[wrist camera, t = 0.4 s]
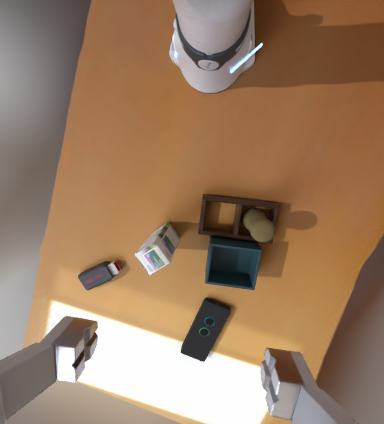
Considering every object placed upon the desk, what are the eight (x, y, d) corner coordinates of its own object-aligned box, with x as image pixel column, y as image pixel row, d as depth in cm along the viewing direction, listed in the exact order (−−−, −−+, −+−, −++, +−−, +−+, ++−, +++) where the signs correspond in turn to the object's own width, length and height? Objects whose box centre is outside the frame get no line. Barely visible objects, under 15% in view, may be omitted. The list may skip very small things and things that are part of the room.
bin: (210, 234, 56) (210, 243, 49) (256, 240, 55) (262, 250, 49) (205, 270, 58) (205, 283, 52) (249, 276, 58) (254, 290, 51)
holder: (203, 194, 53) (202, 196, 51) (276, 202, 52) (280, 205, 50) (198, 230, 56) (198, 233, 53) (268, 239, 55) (272, 243, 52)
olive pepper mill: (270, 219, 54) (285, 233, 43) (252, 234, 55) (263, 251, 44) (254, 202, 53) (266, 212, 42) (236, 218, 54) (243, 232, 44)
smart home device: (231, 311, 59) (204, 362, 63) (231, 307, 60) (204, 357, 65) (204, 300, 58) (179, 352, 63) (204, 296, 60) (180, 347, 65)
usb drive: (81, 272, 62) (75, 277, 59) (114, 257, 60) (110, 261, 57) (90, 287, 62) (85, 292, 60) (123, 272, 60) (119, 277, 58)
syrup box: (180, 238, 57) (171, 262, 43) (163, 248, 58) (149, 276, 44) (168, 221, 56) (155, 240, 42) (151, 232, 57) (132, 255, 43)
